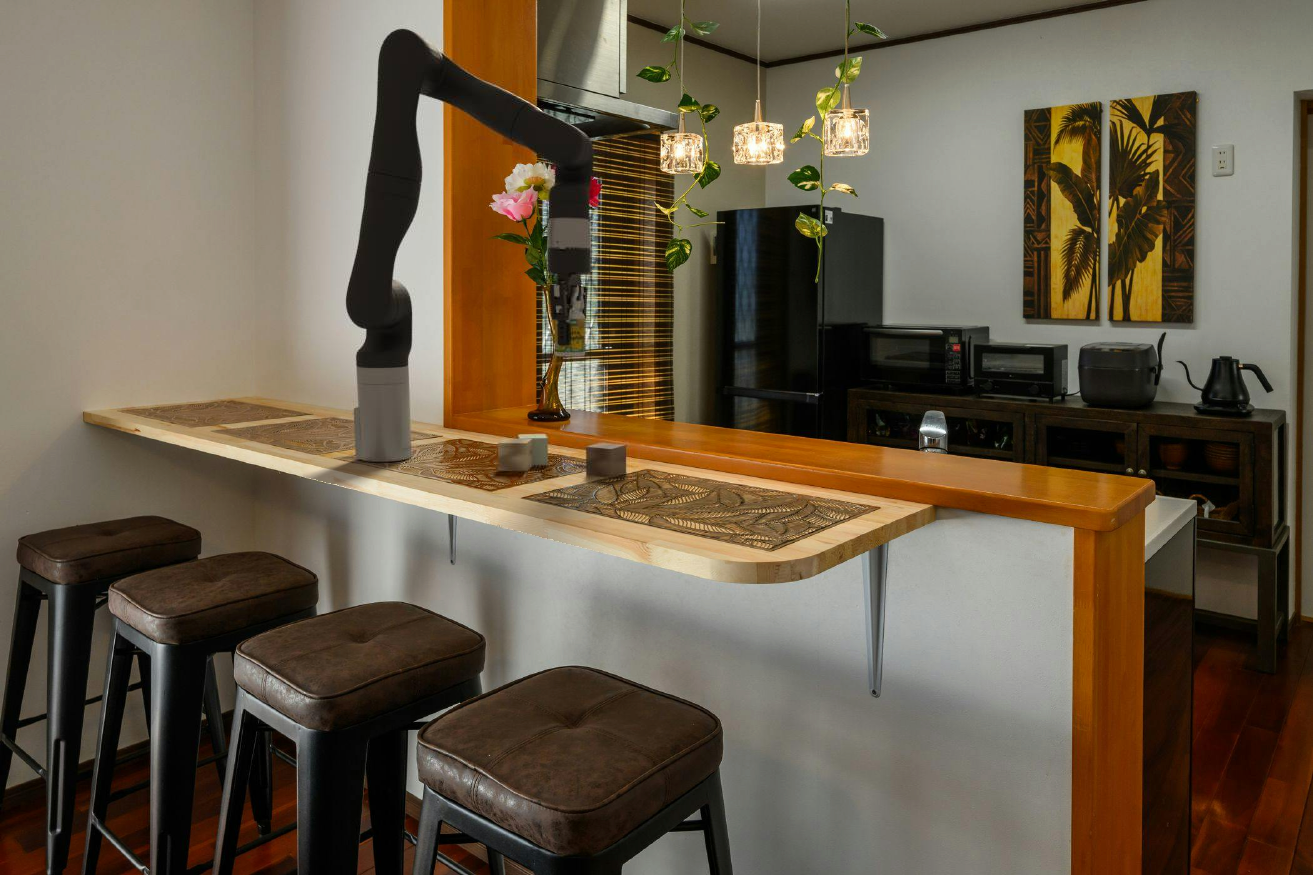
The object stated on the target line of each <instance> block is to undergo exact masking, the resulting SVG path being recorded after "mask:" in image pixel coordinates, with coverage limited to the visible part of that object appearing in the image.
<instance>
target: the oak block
mask: <svg viewBox="0 0 1313 875" xmlns="http://www.w3.org/2000/svg"><path fill="white" fill-rule="evenodd" d="M497 453H498V454H497V456H498V463H497V464H498V472H501V471H502V472H503V471H504V472H505V471H506V472H507V471H508V472H528V471H529V470H530V469H531V468H532V467H533V465H532V439H518V438H503V439H502V440H500V441H499V442H497Z"/></svg>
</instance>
